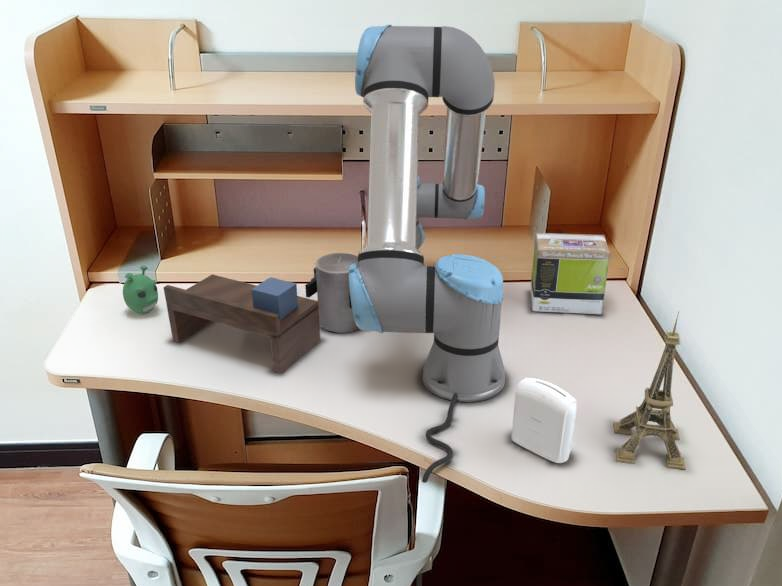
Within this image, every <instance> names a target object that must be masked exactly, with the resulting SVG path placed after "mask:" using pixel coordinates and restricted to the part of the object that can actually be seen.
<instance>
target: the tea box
mask: <svg viewBox="0 0 782 586" xmlns="http://www.w3.org/2000/svg"><path fill="white" fill-rule="evenodd" d="M605 236H606V235H605V234H585V233H584V234H583V233H581V234H579V233H556V232H555V233H553V232H551V233H550V232H544V233H543V232H536V233H535V238H534V247H533V258H532V269H531V276H530V277H531V279H530V298H531V309H532V312H546V313H566V314H584V315H585V314H587V315H589V314H590V315H591V314H592V315H602V313H603V308H604V307H603V306H604V299H605V292H606V286H607V279H608V272H609V267H610V266H609V265H610V257H611V251H610V248H609V246H608V242H607V240H606V237H605Z"/></svg>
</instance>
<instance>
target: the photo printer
mask: <svg viewBox="0 0 782 586" xmlns="http://www.w3.org/2000/svg"><path fill="white" fill-rule="evenodd" d="M514 395H515V396H514V405H513V415H512V426H511V441H512V442H514V443H515V444H517V445H519V446H521V447H522V448H524V449H526V450H528V451H530V452H532V453H534V454H536V455H538V456H540V457H542V458H544V459H546V460H548V461H550V462H553V463H556V464H563V463H566V462H567V461H568V460H569V459H570V454H571V451H572V444H573V437H574V430H575V424H576V418H577V410H578V401H577V400H576V398H574V397H573V396H572V395H571V394H570V393H569V392H567V391H566V390H564V389H563V388H561V387H560V386H558V385H556V384H553V383H551V382H549V381H546V380H543V379H539V378H535V377H524V378H523V379H522V380H519V383H518V385H517V387H516V390H515V394H514Z"/></svg>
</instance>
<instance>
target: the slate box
mask: <svg viewBox="0 0 782 586" xmlns="http://www.w3.org/2000/svg"><path fill="white" fill-rule="evenodd" d="M297 285H298V284H297V283H296V282H291V281H287V280H283V279H279V278H276V277H272V276H270V277H268V278H266V279H265V280H264V281H262V282H260V283H259V284H258V285H257V284H256V287H254V288H253V289H252V298H253V308H256V309H260V310H264V311H267V312H271V313H275V314H278V315H279V319H280V320H281V319H282V318H284V317H285V316H287V315H288V314H289V313H291V312H292V311H293V310H295V309H296V308H297V307H298V298H297V296H298V286H297Z"/></svg>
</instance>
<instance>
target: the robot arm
mask: <svg viewBox="0 0 782 586" xmlns="http://www.w3.org/2000/svg"><path fill="white" fill-rule="evenodd" d="M354 74H355V75H354V87H355V93H356V95H357V96H360V97H361V98H362V104H363V107H364V108H365V109H366V110H367V111H368V112H369V113H370V141H369V142H370V143H369V169H368V170H369V171H368V199H367V200H368V201H367V202H368V203H367V227H366V229H367V230H366V231H367V232H366V245H365V247H363V248H362V249H361V250H359V252H358V253H357V256H358V264H356V263H354V264H352V265H350V266H349V288H350V296H349V300H350V308H352V311H353V317H354V321H355V324H356V325H357V327H358V328H359V329H358V330H361V331H364V332H375V333H377V332H378V333H380V334H384V333H406V334H407V333H409V334H433V343H432V345H431V347H430V349H429V352H428V355H427V356H426V359H425V362H424V364H423V368H422V382H423V384H424V387H425V388H426V389H427V390H428V391H429V392H431V393H432V394H433V395H435V396H437V397H439V398H442V399H445V400H448V401H450V403H449V406H448V409H447V415H446V418H445V421H444V422H443V423H441V424H439V425H436V426H432V427H431V428H430V427H429V429H427V430H426V432H425V438H426V440H427V441H428V442H429V443H431V444H432V445H435V446H437V447H439V448H442V449H444V450H445V451H446V452H447V454H446V455H445V456H444V457H441V458H440V459H438V460H435V461H434V462H432V463H431V464H430V465H429V466H428V467H427V468H426V470H425V472H424V474H423V476H422V479H421V482H422V483H424V484H425V483H427V482H428V480H429V478H430V475H431V474H432V472H433V471H434V470H435V469H436V468H438V467H440V466H441V465H443V464H446V463H447V462H449V461H450V460H451V459H452V458H453V456H454V455H453V454H454V451H453V449H452V447H451V446H450V445H449V444H447V443H445V442H443V441H441V440H438V439H436V438H434V437H433V436H432V434H433V433H437V432H439V431H443V430H444V429H446V428H448V427H449V426H450V424H451V423H452V418H453V412H454V409H455V407H456V403H457V402H460V403H475V402H480V401H481V402H483V401H485V400H488V399H491V398H493V397H495V396H497V395H499V393H500V392H502V390H503V389H504V386H505V383H506V369H505V365H504V361H503V358H502V354H501V351H500V347H499V341H500V340H499V339H500V329H501V328H500V327H501V315H502V305H503V301H504V298H505V297H504V295H505V294H504V277H503V274H502V272H501V271H500V269H499V268H498V267H497V266H496V265H494V264H493V263H491V262H489V261H488V260H486V259H483V258H481V257H478V256H474V255H469V254H463V253H453V254H449V255H443V256H442V257H440V258H438V260H437V261H436V263H435V266H429V265H428V266H426V265H425V256H424V254H423V253H422V252H421V251H420V250H419V249H420V248H421V247H422V246H423V244H424V243H425V239H426V232H425V230H424V227H423V225H422V224H421V223H420V222H419V221H420V220H419V219H420V218H422V219H423V218H425V219H455V220H456V219H459V220H468V219H470V220H471V219H480V218H482V217H483V215H484V212H485V204H486V203H485V202H486V201H485V200H486V191H485V187H484V185H482V184H479V176H480V175H479V174H480V168H481V159H482V151H483V142H484V135H485V127H486V118H487V111H488V110H489V109H490V108H491V106H492V104H493V102H494V96H495V88H496V87H495V86H496V85H495V84H496V82H495V76H494V71H493V67H492V65H491V62H490V60H489V58H488V56H487V54H486V52H485V51H484V50H483V48H482V46H481V45H480V44H479V43H478V42H477V41H476V40H475V39H474V38H473V37H472V36H471V35H470V34H469V33H467V32H466V31H463V30H461V29H459V28H456V27H454V26H448V25H447V26H445V25H444V26H443V25H442V26H423V25H422V26H421V25H420V26H417V25H413V26H411V25H392V24H386V25H377V26H376V25H374V26H373V25H371V26H369V27H367V28H366V29H365V30H364V31H363V33H362V34H361V37H360V40H359V43H358V49H357V53H356V60H355V73H354ZM429 98H442V103H443V104H444V106H445V107H446V120H445V139H444V155H443V156H444V158H443V173H442V174H443V175H442V183H424V182H423V183H421V181H420V176H419V142H420V141H419V140H420V115H421V114H423V113H424V112H425V111H426V110H427V109H428V107H429ZM304 287H305V298H308V299H311V297H312V296H314V295H315V294H317V278H316V267H314V268H313V277H312V278H311V279H310V281H309V282H308V283H306V284H305V285H304ZM422 585H423V572H422V573H421V574H419V575H418V576H417V575H416V586H422Z"/></svg>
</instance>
